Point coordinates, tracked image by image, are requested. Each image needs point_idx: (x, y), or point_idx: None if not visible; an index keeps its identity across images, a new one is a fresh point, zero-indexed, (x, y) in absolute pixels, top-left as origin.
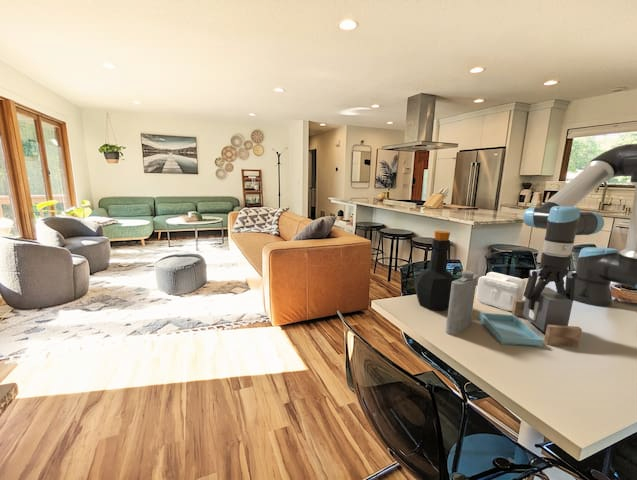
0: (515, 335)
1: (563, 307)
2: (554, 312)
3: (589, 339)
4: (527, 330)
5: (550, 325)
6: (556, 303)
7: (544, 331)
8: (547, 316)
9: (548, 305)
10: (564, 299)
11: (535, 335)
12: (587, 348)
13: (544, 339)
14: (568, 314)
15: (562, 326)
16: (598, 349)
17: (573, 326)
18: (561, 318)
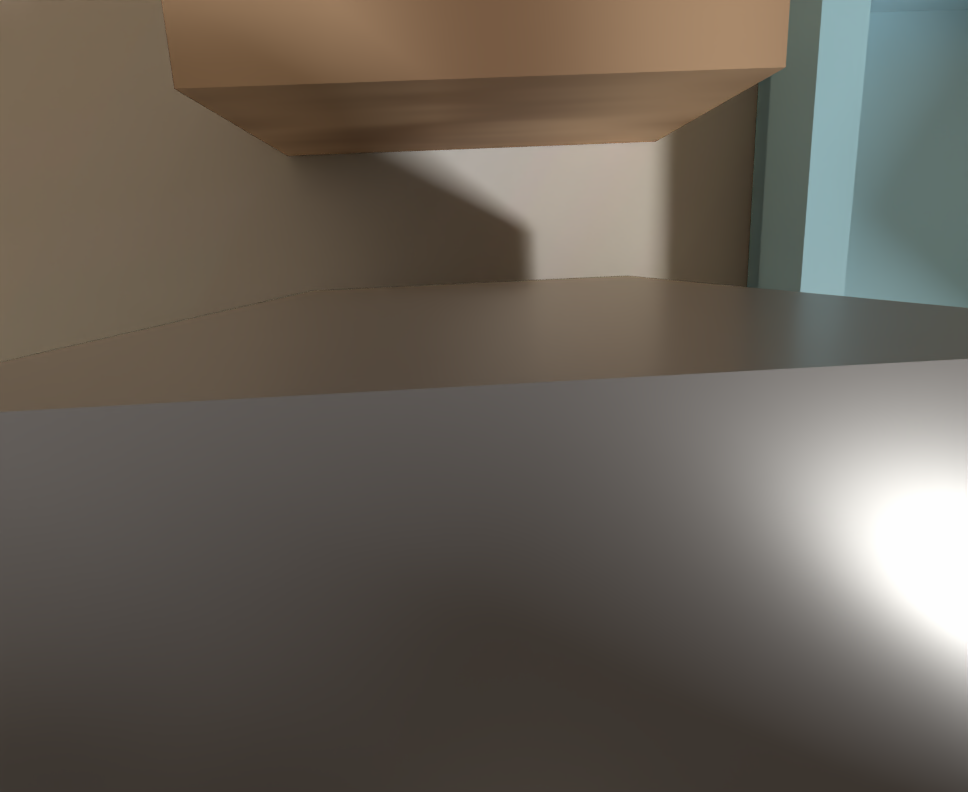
0: (966, 202)
1: (372, 326)
2: (598, 304)
3: (16, 343)
4: (832, 265)
5: (749, 27)
6: (712, 333)
7: (608, 277)
8: (702, 289)
9: (948, 306)
10: (206, 615)
11: (862, 61)
12: (172, 76)
13: (667, 132)
14: (233, 314)
15: (516, 30)
16: (38, 77)
17: (275, 81)
18: (400, 298)
